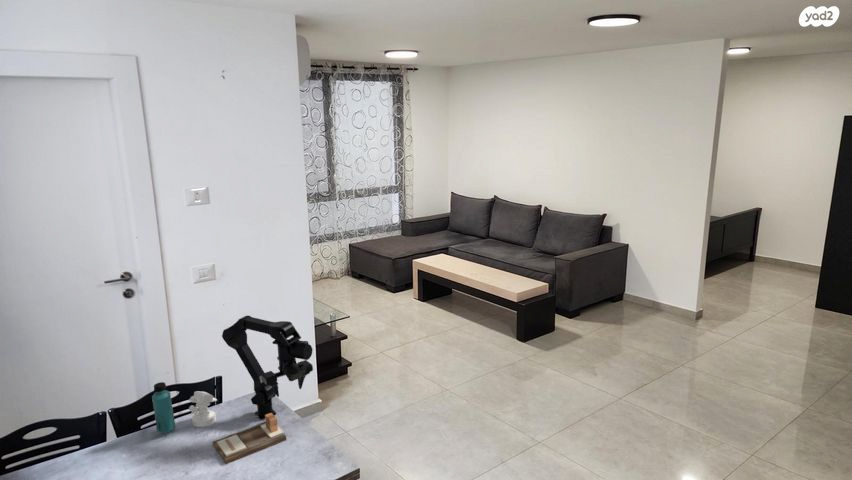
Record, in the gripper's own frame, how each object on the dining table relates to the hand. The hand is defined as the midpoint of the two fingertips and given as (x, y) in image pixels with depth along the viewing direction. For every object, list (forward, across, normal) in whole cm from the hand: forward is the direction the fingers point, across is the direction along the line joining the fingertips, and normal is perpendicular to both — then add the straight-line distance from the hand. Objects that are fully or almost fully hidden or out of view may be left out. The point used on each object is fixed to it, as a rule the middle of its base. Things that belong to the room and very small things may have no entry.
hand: (289, 392), depth 206 cm
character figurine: (+12, -26, +22) cm, 36 cm away
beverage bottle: (+12, -40, +23) cm, 48 cm away
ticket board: (+12, -19, -4) cm, 23 cm away
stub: (+10, -9, -4) cm, 15 cm away
